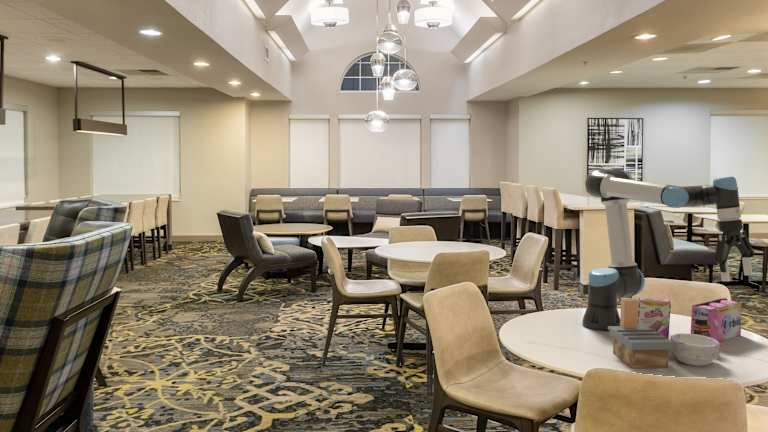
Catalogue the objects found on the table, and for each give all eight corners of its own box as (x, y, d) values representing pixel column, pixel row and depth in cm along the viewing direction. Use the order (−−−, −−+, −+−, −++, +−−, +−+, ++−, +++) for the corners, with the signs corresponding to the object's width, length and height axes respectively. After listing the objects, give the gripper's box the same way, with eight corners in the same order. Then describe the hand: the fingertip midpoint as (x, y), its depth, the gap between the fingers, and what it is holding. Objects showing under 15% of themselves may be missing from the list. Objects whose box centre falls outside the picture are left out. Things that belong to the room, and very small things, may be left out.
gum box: (723, 330, 258) (724, 297, 257) (743, 335, 252) (745, 301, 250) (689, 339, 245) (691, 305, 244) (709, 345, 238) (711, 309, 237)
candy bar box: (636, 343, 240) (638, 300, 239) (636, 339, 245) (637, 297, 243) (669, 346, 236) (671, 302, 235) (667, 342, 241) (669, 299, 240)
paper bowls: (728, 368, 212) (729, 345, 211) (684, 369, 211) (685, 346, 210) (702, 354, 227) (703, 332, 226) (660, 355, 226) (661, 333, 225)
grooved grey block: (607, 333, 230) (608, 298, 229) (645, 332, 231) (647, 298, 230) (631, 349, 210) (633, 312, 209) (673, 349, 211) (675, 312, 210)
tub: (612, 353, 228) (613, 331, 227) (645, 352, 228) (646, 330, 228) (632, 368, 212) (633, 344, 211) (667, 367, 212) (669, 344, 212)
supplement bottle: (712, 349, 232) (714, 319, 231) (703, 352, 229) (704, 321, 228) (697, 345, 237) (698, 315, 236) (687, 348, 234) (689, 317, 233)
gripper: (718, 222, 221) (726, 283, 221) (760, 215, 234) (767, 273, 233) (698, 224, 228) (706, 283, 228) (740, 216, 240) (747, 272, 240)
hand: (737, 278), depth 231 cm, fingers open, 13 cm apart
